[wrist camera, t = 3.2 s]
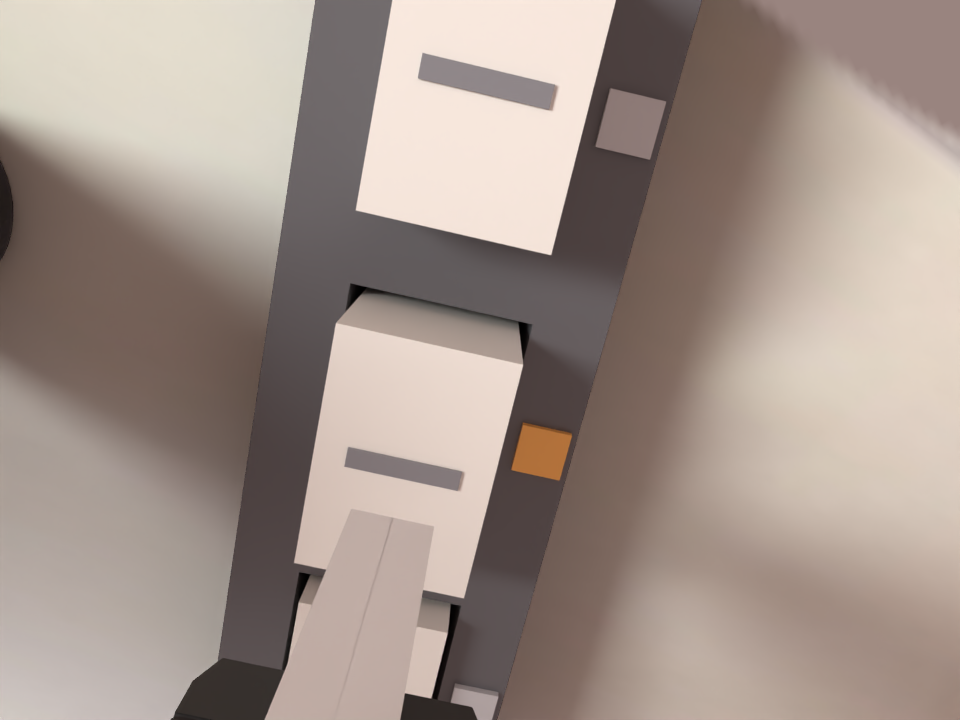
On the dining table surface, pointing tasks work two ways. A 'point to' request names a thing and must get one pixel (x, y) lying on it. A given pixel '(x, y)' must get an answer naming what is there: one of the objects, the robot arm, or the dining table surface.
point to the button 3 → (482, 115)
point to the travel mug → (5, 211)
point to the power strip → (455, 282)
